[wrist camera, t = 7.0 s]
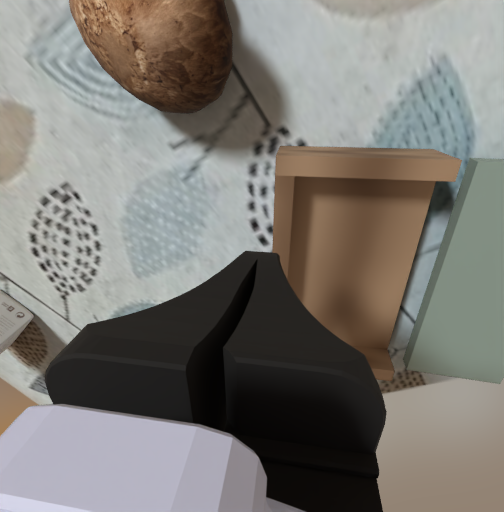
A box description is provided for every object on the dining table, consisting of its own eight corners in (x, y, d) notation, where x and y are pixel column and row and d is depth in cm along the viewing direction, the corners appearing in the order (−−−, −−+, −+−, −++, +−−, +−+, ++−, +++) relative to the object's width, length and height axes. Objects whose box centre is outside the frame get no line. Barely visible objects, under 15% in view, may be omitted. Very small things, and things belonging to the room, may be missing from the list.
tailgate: (406, 369, 22) (500, 384, 20) (478, 161, 15) (623, 166, 14) (403, 359, 22) (492, 372, 21) (469, 158, 16) (605, 162, 15)
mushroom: (206, -194, 10) (86, -152, 8) (290, 48, 16) (235, 121, 13) (99, -65, 15) (4, -13, 13) (190, 86, 21) (137, 144, 18)
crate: (272, 333, 25) (268, 366, 22) (280, 145, 18) (276, 155, 15) (380, 345, 24) (391, 381, 21) (433, 149, 17) (462, 160, 14)
